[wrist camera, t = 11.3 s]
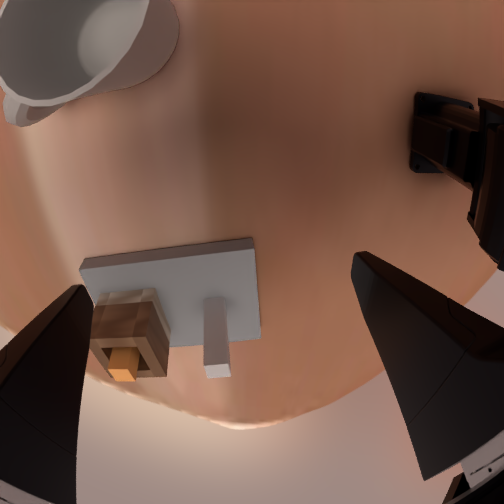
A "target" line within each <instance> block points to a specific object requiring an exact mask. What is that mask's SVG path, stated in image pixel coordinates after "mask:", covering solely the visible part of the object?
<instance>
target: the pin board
mask: <svg viewBox="0 0 504 504" xmlns="http://www.w3.org/2000/svg"><path fill="white" fill-rule="evenodd" d="M79 272H80V274H81V276H82V278H83V281H84V283H85V285H86V287H87V289H88V291H89V293H90V295H91V297H92V299H93V301H94V303H95V305H96V303H97V301H98V298H99V296H100V293H110V292H120V291H130V290H140V289H150V288H155V289H156V292H157V294H158V297H159V300H160V303H161V305H162V308H163V311H164V313H165V316H166V318H167V321H168V324H169V326H170V329H171V335H170V345H169V347H182V346H194V345H204V368H205V371H206V374H207V377H208V378H218V377H229V376H231V367H230V354H229V342H235V341H244V340H252V339H260V338H261V330H260V317H259V304H258V291H257V278H256V265H255V252H254V245H253V240H252V238H247V239H238V240H230V241H221V242H213V243H205V244H197V245H188V246H180V247H172V248H164V249H157V250H149V251H141V252H133V253H126V254H118V255H111V256H103V257H96V258H88V259H84V261H83V263H82V265H81V266H80V268H79ZM139 357H140V351H139V349H138V347H113V348H112V352H111V357H110V361H109V365H108V371H109V372H110V373H111V375H112V376H113V377H114V379H115V380H116V381H136V375H137V369H138V363H139Z"/></svg>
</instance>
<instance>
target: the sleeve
mask: <svg viewBox="0 0 504 504" xmlns="http://www.w3.org/2000/svg"><path fill="white" fill-rule="evenodd" d="M170 335H171V329H170V326H169V324H168V321H167V318H166V316H165V313H164V311H163V308H162V305H161V303H160V300H159V297H158V294H157V292H156V289H155V288H150V289H140V290H130V291H120V292H110V293H100V296H99V298H98V301H97V303H96V306H95V309H94V311H93V319H92V328H91V338H90V347H89V348H90V349H91V351H92V352H93V354H94V355H95V357H96V358H97V359H98V361H99V362H100V364H101V365H102V366H103V368H104V369H105V370H106V372H107V373H108V374H109V376H110V377H113V376H112V375H111V373H110V372H109V371H108V365H109V361H110V357H111V352H112V348H113V347H138V349H139V351H140V357H139V363H138V369H137V375H136V378H137V377H167V366H168V355H169V345H170ZM113 378H114V377H113Z"/></svg>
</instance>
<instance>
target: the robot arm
mask: <svg viewBox="0 0 504 504" xmlns="http://www.w3.org/2000/svg"><path fill="white" fill-rule="evenodd" d="M421 96H422V97H423V99H422V101H421ZM478 106H479V112H478V111H475V110H474V107H473V105H472V104H471V103H469V102H465V101H461V100H457V99H453V98H448V97H444V96H439V95H434V94H429V93H424V92H418V93H417V94H416V96H415V112H414V124H413V137H412V150H411V159H410V169H411V170H412V171H414V172H415V173H445V174H447V175H448V176H450V177H452V178H453V179H455V180H456V181H458V182H459V183H461V184H462V185H464V186H465V187H467V188H468V189H470V190H471V191H473V194H472V200H471V206H470V211H469V212H468V216H467V220H468V222H469V223H470V225H471V227H472V228H473V230H474V231H475V233H476V235H477V236H478V238H479V240H480V241H479V245H480V247H481V248H482V249H483V250H484V251H485V252H486V253H487V254H488V255H489V256H490V258H491V259H492V260H493V261H494V262H495V263H497V264H498V265H497V268H498V269H499V270H501V271H504V101H498V100H492V99H484V98H478ZM468 107H469V108H468ZM416 164H417V167H416V168H415V165H416ZM351 279H352V282H353V285H354V289H355V292H356V295H357V298H358V301H359V304H360V307H361V311H362V314H363V316H364V319H365V321H366V324H367V326H368V328H369V331H370V333H371V335H372V338H373V340H374V343H375V345H376V347H377V350H378V352H379V355H380V357H381V359H382V362H383V364H384V367H385V369H386V372H387V374H388V377H389V380H390V382H391V385H392V387H393V390H394V393H395V395H396V398H397V401H398V403H399V406H400V409H401V412H402V415H403V417H404V420H405V423H406V426H407V430H408V432H409V435H410V438H411V442H412V445H413V448H414V451H415V454H416V457H417V460H418V463H419V467H420V470H421V474H422V477H423V480H424V481H426V480H428V479H430V478H432V477H434V476H436V475H438V474H440V473H442V472H443V471H445V470H447V469H449V468H451V467H453V466H454V465H456V464H458V463H461V466H462V468H463V471H464V472H462V473H461V474H459V475H457V476H456V477H454V478H453V481H452V483H451V485H450V488H449V490H448V492H447V494H446V497H445V499H444V501H443V503H442V504H504V328H503V327H501V326H499V325H497V324H495V323H493V322H491V321H489V320H488V319H486V318H484V317H482V316H480V315H478V314H476V313H475V312H473V311H471V310H469V309H467V308H466V307H464V306H462V305H460V304H459V303H457V302H455V301H454V300H452V299H450V298H447V296H445V295H444V294H442V293H440V292H439V291H437V290H435V289H434V288H432V287H430V286H428V285H427V284H425V283H423V282H421V281H420V280H418V279H416V278H415V277H413V276H411V275H409V274H407V273H406V272H404V271H402V270H400V269H399V268H397V267H395V266H393V265H391V264H390V263H388V262H386V261H384V260H382V259H380V258H379V257H377V256H375V255H373V254H371V253H369V252H367V251H362V252H356V253H355V254H354V256H353V263H352V269H351ZM93 311H94V305H93V302H92V300H91V298H90V296H89V294H88V292H87V289H86V288H85V286H84V285H82V284H78V285H72V286H71V287H70V288H69V289H67V290H66V291H65V292H64V293H63V294H62V295H60V296H59V297H58V298H57V299H56V300H55V301H53V302H52V303H51V304H50V305H49V306H48V307H47V308H45V309H44V310H43V311H42V312H41V313H40V314H39V315H38V316H36V317H35V318H34V319H33V320H32V321H31V322H30V323H29V324H28V325H27V326H26V327H24V328H23V329H22V330H21V331H20V332H19V333H18V334H17V335H16V336H15V337H14V338H13V339H12V340H11V341H10V342H9V343H8V345H5V346H4V347H3V349H1V350H0V504H49V503H51V504H76V459H77V458H76V454H77V438H78V425H79V415H80V405H81V397H82V390H83V383H84V376H85V370H86V364H87V358H88V353H89V347H90V338H91V328H92V319H93Z"/></svg>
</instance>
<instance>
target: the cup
mask: <svg viewBox="0 0 504 504" xmlns="http://www.w3.org/2000/svg"><path fill="white" fill-rule="evenodd" d="M178 36H179V20H178V17H177V14H176V11H175V8H174V6H173V4H172V3H171V1H170V0H5V1H4V3H3V5H2V7H1V10H0V86H1V87H2V89H3V91H4V92H6V95H5V98H4V101H3V108H4V114H5V118H6V122H8V123H11V124H13V125H16V126H20V127H24V126H30V125H32V124H34V123H37V122H39V121H41V120H42V119H44V118H46V117H48V116H49V115H51V114H52V113H53V112H55V111H56V110H58V109H59V108H61V107H62V106H63V105H64V104H65V103H67V102H68V101H71V100H75V99H79V98H83V97H87V96H91V95H96V94H100V93H105V92H110V91H115V90H120V89H125V88H130V87H132V86H134V85H137V84H139V83H141V82H143V81H146V80H147V79H149V78H150V77H151V76H153V75H154V74H155V73H157V72H158V71H159V70H160V69H161V68H162V67H163V65H164V64H165V63H166V62H167V61H168V60H169V58H170V56H171V54H172V53H173V51H174V49H175V47H176V43H177V39H178Z"/></svg>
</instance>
